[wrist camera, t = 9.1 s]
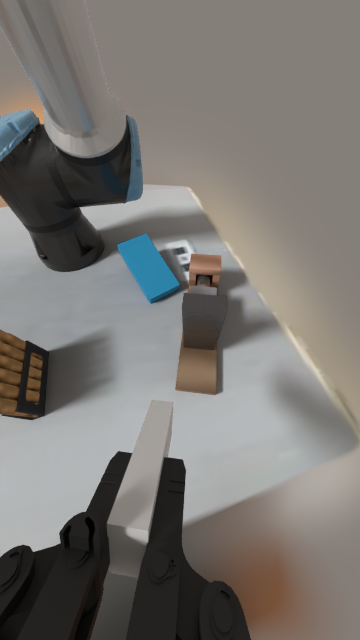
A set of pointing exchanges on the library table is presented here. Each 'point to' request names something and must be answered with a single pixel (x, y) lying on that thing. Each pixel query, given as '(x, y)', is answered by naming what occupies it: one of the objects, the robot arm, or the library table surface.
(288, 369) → the library table surface
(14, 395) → the ammunition clip
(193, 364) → the wooden bar with block
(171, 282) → the blue block
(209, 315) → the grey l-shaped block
